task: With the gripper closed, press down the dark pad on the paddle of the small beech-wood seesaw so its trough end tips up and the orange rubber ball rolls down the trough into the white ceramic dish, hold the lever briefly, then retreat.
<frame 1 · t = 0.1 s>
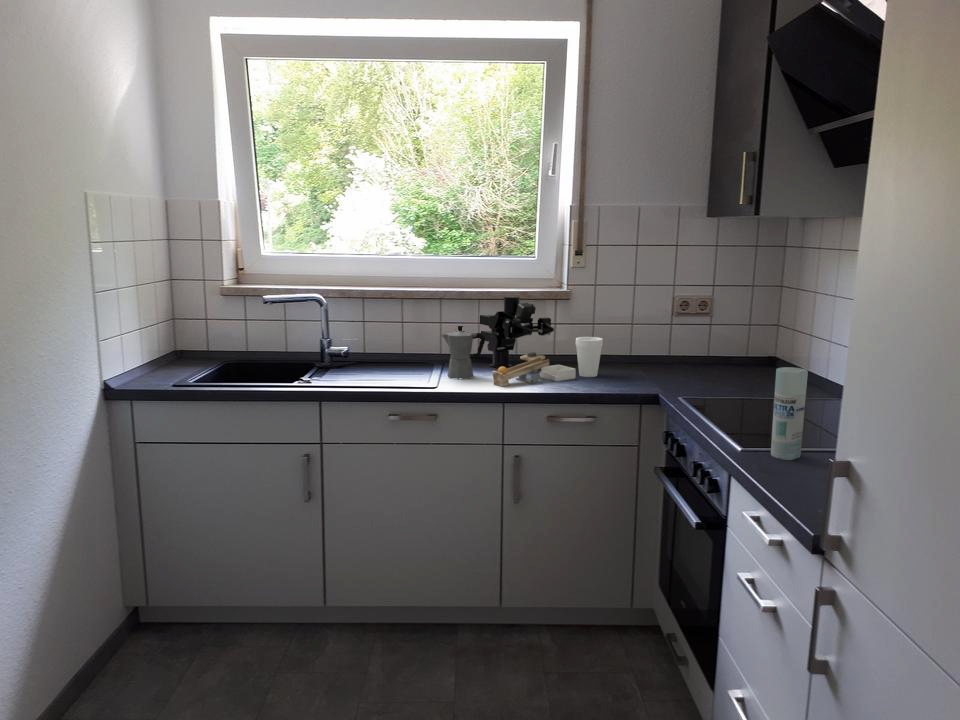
hand: (542, 330, 248), 17 cm above the worktop, tool horizontal, fingers open, 9 cm apart
coffeepot: (463, 377, 254), on the worktop
spray paint can: (785, 456, 165), on the worktop
ball: (502, 371, 240), point 5 cm above the worktop, tilted 23°, touching lever
lever: (518, 366, 248), point 4 cm above the worktop, hinge at 10.5°, touching ball
dish: (557, 377, 252), on the worktop
foam cup: (588, 375, 257), on the worktop
fulcrum: (528, 381, 246), on the worktop
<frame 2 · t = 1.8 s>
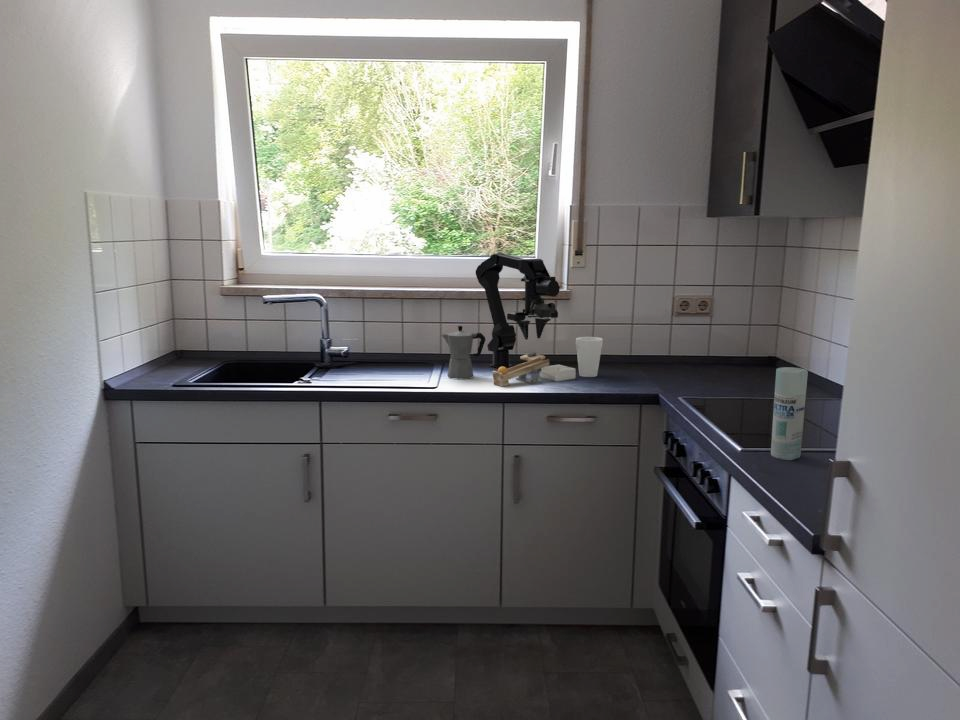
hand: (532, 338, 257), 13 cm above the worktop, tool pointing down, fingers open, 5 cm apart
nothing on the worktop moved.
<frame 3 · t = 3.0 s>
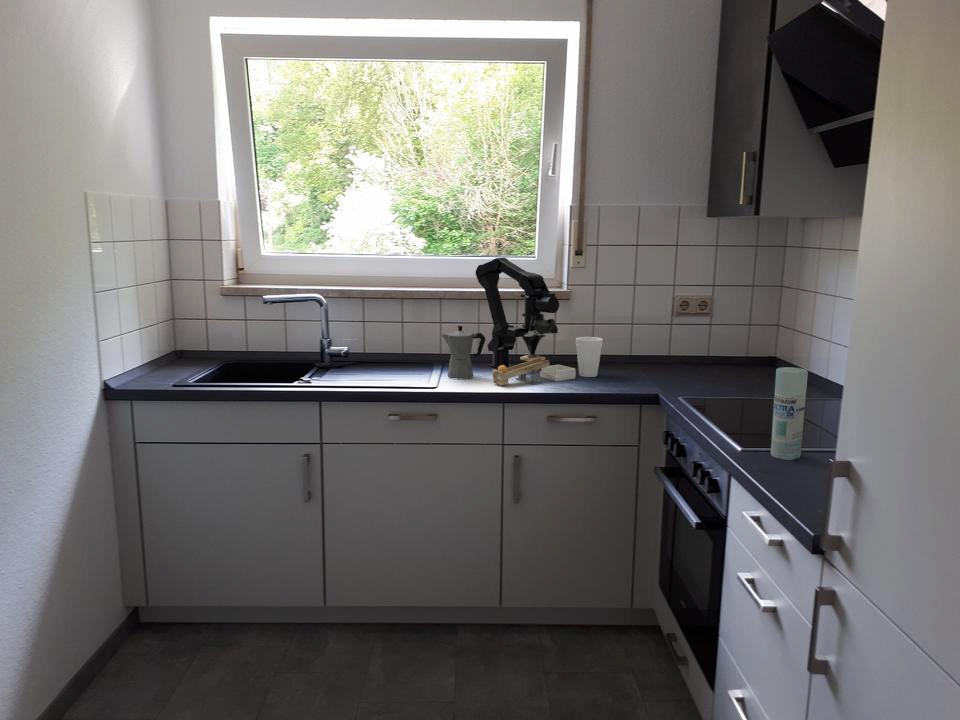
hand: (532, 354, 258), 7 cm above the worktop, tool pointing down, fingers closed, pressing on lever
lever: (518, 366, 248), point 4 cm above the worktop, hinge at 8.4°, touching ball, gripper
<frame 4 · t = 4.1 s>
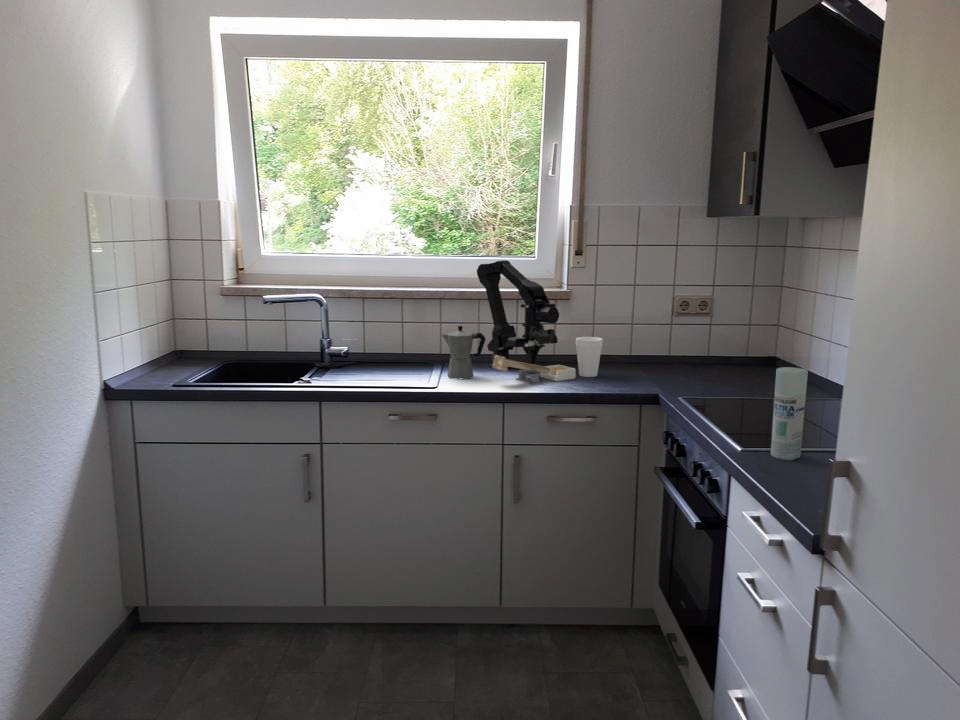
hand: (532, 364, 259), 3 cm above the worktop, tool pointing down, fingers closed
ball: (559, 371, 253), point 2 cm above the worktop, tilted 149°, touching dish
lever: (518, 365, 248), point 5 cm above the worktop, hinge at -14.2°, touching gripper
everything else where it was.
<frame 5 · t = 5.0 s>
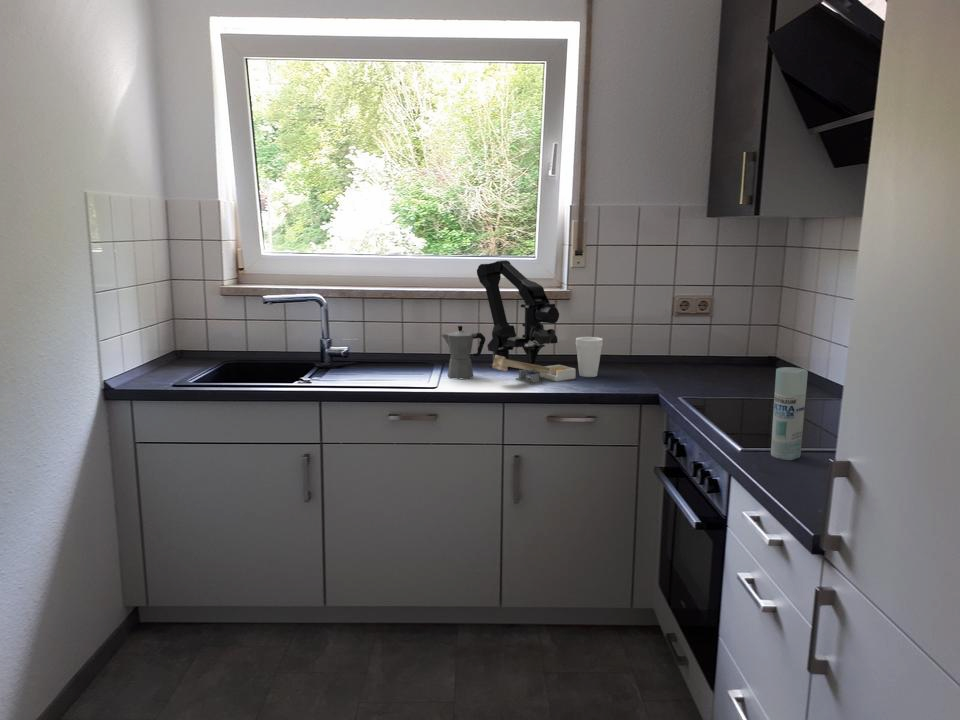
hand: (532, 364, 259), 3 cm above the worktop, tool pointing down, fingers closed
nothing on the worktop moved.
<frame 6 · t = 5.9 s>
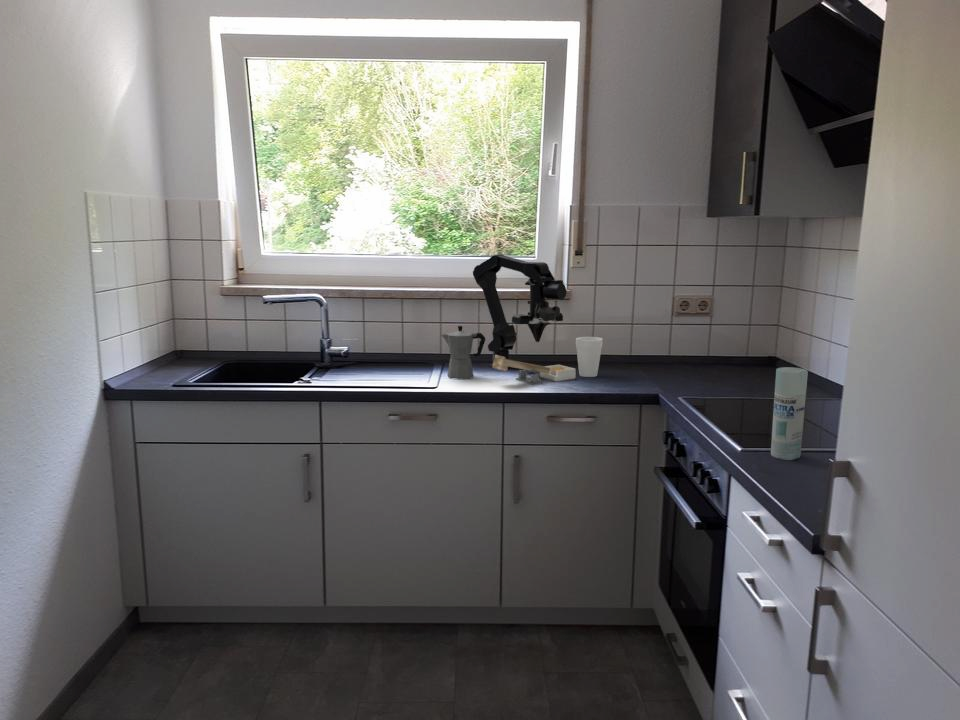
hand: (537, 341, 259), 11 cm above the worktop, tool pointing down, fingers closed
lever: (518, 365, 248), point 5 cm above the worktop, hinge at -14.2°
everything else where it was.
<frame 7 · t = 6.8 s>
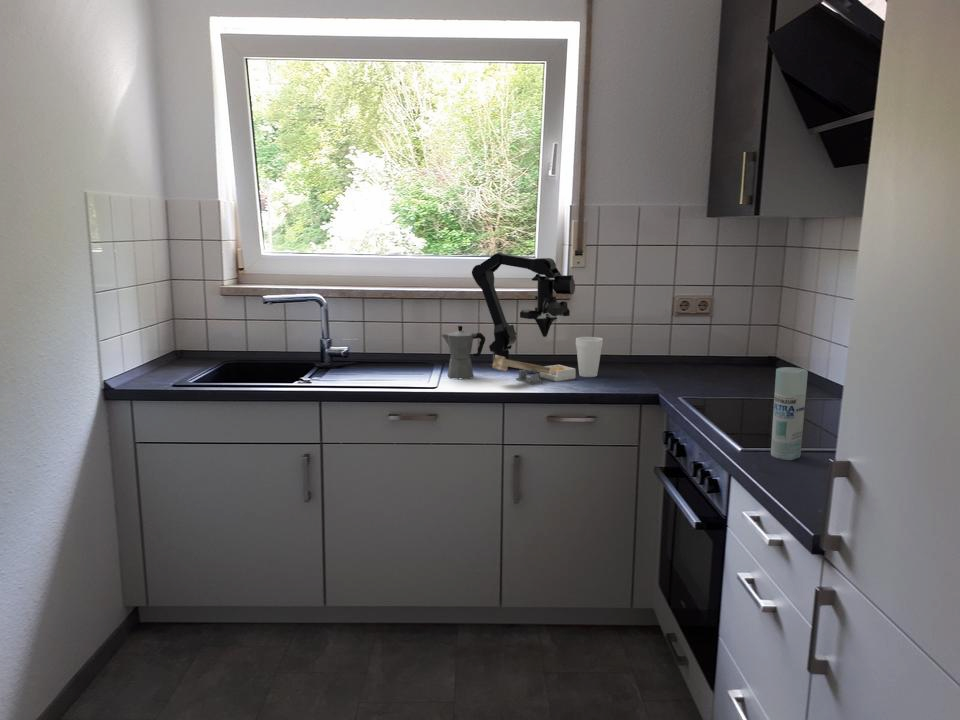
hand: (544, 336, 262), 12 cm above the worktop, tool pointing down, fingers closed
nothing on the worktop moved.
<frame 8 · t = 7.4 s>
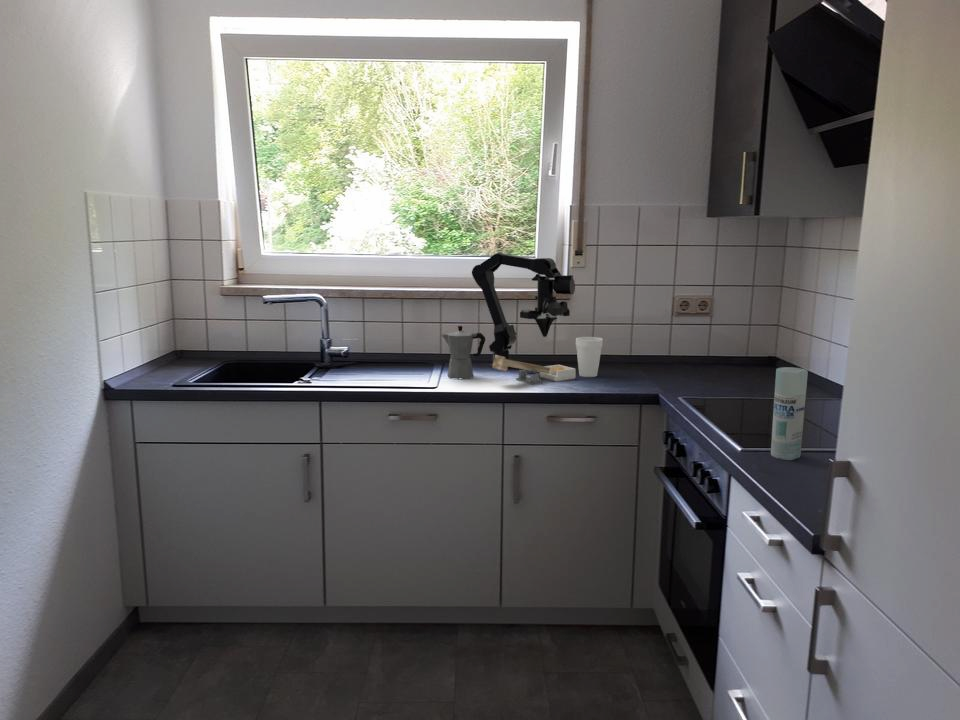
hand: (544, 336, 262), 12 cm above the worktop, tool pointing down, fingers closed
nothing on the worktop moved.
at the end: ball inside the target area on the dish (2.1 cm from its centre), point 1.9 cm above the dish's base; ball touching dish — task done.
